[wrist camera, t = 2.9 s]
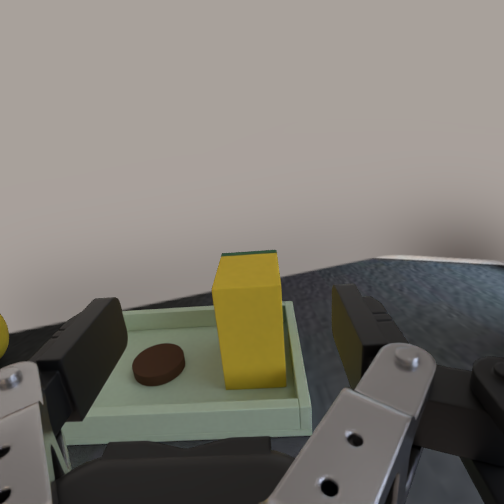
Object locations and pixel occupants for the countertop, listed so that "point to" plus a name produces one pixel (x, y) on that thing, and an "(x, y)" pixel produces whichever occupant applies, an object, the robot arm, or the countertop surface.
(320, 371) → the countertop surface
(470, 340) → the countertop surface
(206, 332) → the tray
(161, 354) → the brown round disc
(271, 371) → the sponge
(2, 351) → the lemon
